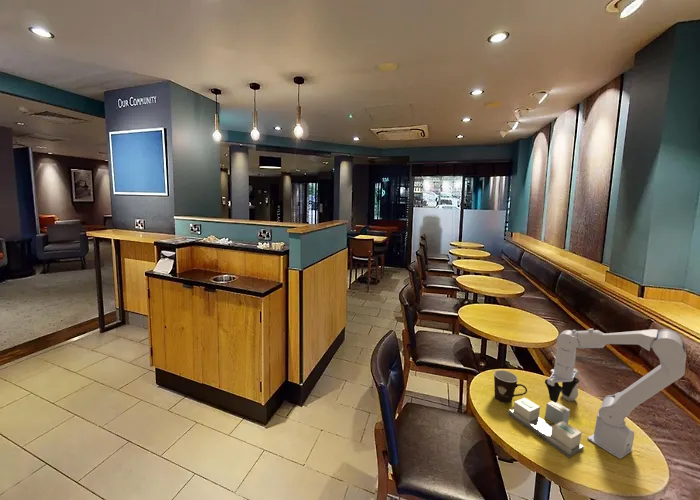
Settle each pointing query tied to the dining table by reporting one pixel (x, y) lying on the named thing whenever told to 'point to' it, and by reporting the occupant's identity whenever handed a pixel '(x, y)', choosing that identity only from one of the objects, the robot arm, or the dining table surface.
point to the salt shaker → (574, 392)
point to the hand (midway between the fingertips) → (559, 398)
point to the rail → (544, 433)
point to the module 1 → (526, 409)
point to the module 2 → (566, 435)
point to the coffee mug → (506, 386)
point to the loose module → (557, 412)
